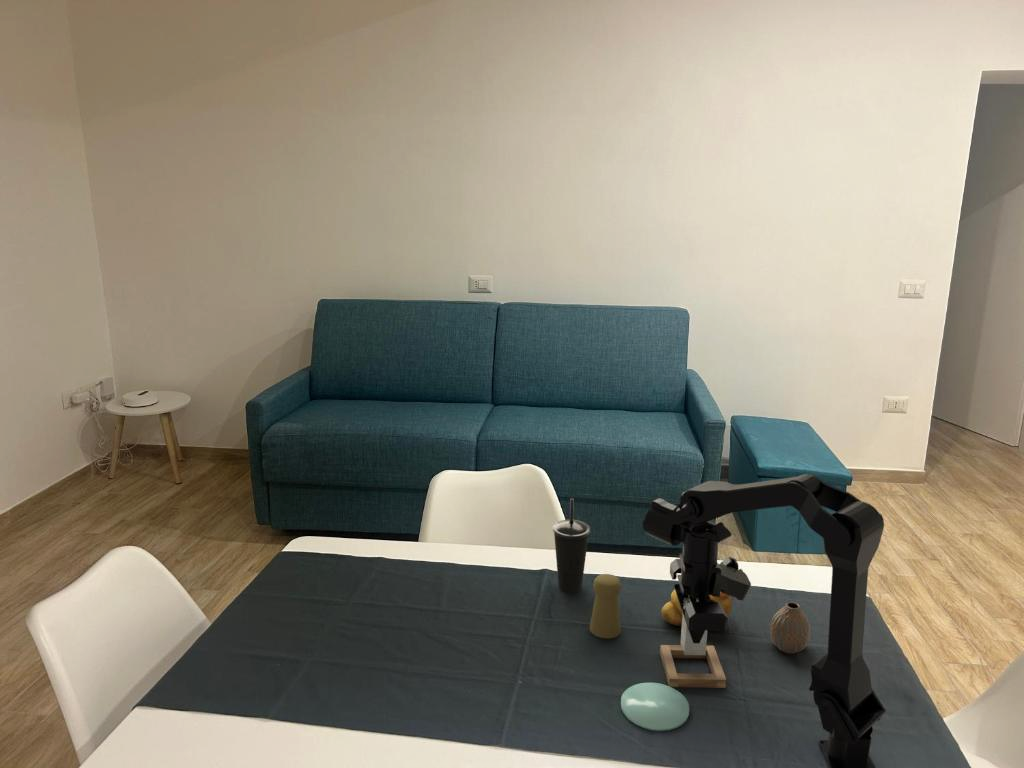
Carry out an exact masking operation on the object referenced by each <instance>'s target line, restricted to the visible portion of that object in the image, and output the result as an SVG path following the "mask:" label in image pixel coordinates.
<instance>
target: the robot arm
mask: <svg viewBox="0 0 1024 768" xmlns="http://www.w3.org/2000/svg"><path fill="white" fill-rule="evenodd" d="M679 501H680V502H679V503H678V504H677V505H675V504H672V503H670V502H668V501H667V500H665V499H662V498H656V499H654V500H652V501H651V507H650V508H649V509H648V510H647V511H646V514H645V516H644V519H643V521H642V530H643V532H644V533H645V535H648V536H650V537H653V538H655V539H657V540H659V541H661V542H663V543H666V544H668V545H670V546H674V547H675V546H679V545H680V544H681V543H682V553H679V558H675V559H673V561H671V562H670V563H669V564H670V565H669V574H670V578H671V580H674V581H675V580H677V581H678V583H675V584H673V589H674V590H675V591H676V594H677V597H678V600H679V603H680V606H681V609H682V612H683V615H684V618H685V621H686V624H687V627H688V630H689V632H690V635H691V638H692V641H693V643H700V641H701V639H702V637H703V635H704V632H705V630H707V631H726V630H727V629H728V624H729V622H728V621H729V617H728V616H727V615H726V613H725V610H724V608H723V606H722V605H721V604H719V603H718V602H715V601H714V600H711V598H710V595H712V596H713V597H720V592H722V593H724V594H727V595H729V596H731V598H735V599H736V600H738V601H744V600H745V598H746V596H747V593H749V590H750V587H751V586H752V582H751V580H750V579H749V576H748V575H747V573H746V572H744V571H743V569H742V568H739V563H738V561H737V558H734V557H731V556H727V557H726V558H725V559H724V560H722V561H721V562H720V563H719V562H718V553H719V543H721V542H723V541H725V540H727V539H728V538H731V537H732V532H731V531H730V530H729V528H728V527H726V526H725V524H724V523H723V522H721V521H720V522H718V523H714V522H711V521H713V520H716V519H718V518H720V517H723V516H727V515H728V514H729V515H730V514H732V513H739V512H748V511H757V510H765V509H766V510H767V509H775V508H782V507H783V508H786V507H793V508H794V509H795V510H797V511H798V512H799V514H800V515H801V516H802V518H803V520H804V521H805V522H806V524H807V527H809V528H810V529H811V530H812V531H814V532H815V533H816V534H818V535H819V536H820V537H821V538H822V541H823V542H822V543H823V550H824V554H826V556H827V558H828V560H829V562H830V564H831V569H832V570H831V585H830V587H831V588H830V601H829V603H830V606H829V622H828V636H827V637H828V638H827V639H828V640H827V653H825V654H824V655H823V656H822V657H821V658H820V659H818V660H817V661H815V662H814V663H813V664H812V665H811V668H810V674H811V676H810V677H811V683H810V686H809V688H808V691H810V692H812V698H813V703H814V704H815V705H816V706H817V709H818V713H819V717H820V720H821V721H820V722H821V725H822V726H821V727H822V729H823V730H824V731H826V732H827V733H828V739H820V740H819V741H818V746H819V748H820V750H821V752H822V754H823V756H824V759H825V761H826V762H827V765H828V767H829V768H876V766H875V765H874V763H873V761H872V758H871V757H870V750H871V744H872V740H873V739H872V738H873V730H874V729H873V727H874V725H875V724H876V723H877V722H878V721H880V720H881V719H882V718H883V717H884V715H885V714H886V712H887V709H886V708H885V707H884V705H883V704H882V702H881V701H880V699H879V698H878V696H877V694H876V693H875V691H874V689H873V688H872V681H871V673H870V669H869V667H868V665H867V663H866V661H865V659H864V657H863V651H864V650H863V648H864V633H865V619H866V606H867V594H868V593H867V592H868V591H867V590H868V577H869V567H870V565H871V563H872V561H873V558H874V557H875V554H876V553H877V551H878V548H879V546H880V543H881V540H882V535H883V532H884V528H885V521H884V517H883V515H882V514H881V513H880V512H879V510H877V508H876V507H875V506H873V505H871V504H870V503H868V502H865V501H862V500H860V499H859V498H858V497H856V496H855V495H853V494H852V493H850V492H849V491H846V490H843V489H841V488H838V487H835V486H833V485H830V484H828V483H826V482H825V481H823V480H822V479H820V478H819V477H818V476H816V475H814V474H810V473H803V474H800V475H798V476H792V477H786V478H785V477H784V478H777V479H770V480H763V481H756V482H751V483H749V482H748V483H742V484H736V483H735V484H732V483H730V482H728V481H719V480H718V481H717V480H708V481H705V482H703V483H700V484H698V485H696V486H694V487H692V488H689V489H687V490H685V491H683V492H682V493H681V497H680V500H679ZM823 507H824V508H826V509H829V510H831V511H834V513H832V514H831V513H830V512H828V511H827V510H826V509H824V508H823ZM684 598H689V600H690V603H689V604H688V605H687V606H685V609H683V600H684Z"/></svg>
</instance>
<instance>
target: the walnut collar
mask: <svg viewBox="0 0 1024 768" xmlns="http://www.w3.org/2000/svg"><path fill="white" fill-rule="evenodd" d="M659 646H660V647H659V654H660V655H659V656H660V658H661V661H662V666H663V669H664V672H665V673H664V674H665V677H666V681H667V686H669V687H672V688H709V689H710V688H716V689H717V688H720V689H721V688H723V689H725V688H727V677H726V675H725V673H724V672H725V671H724V669H723V666H722V664H721V662H720V659H719V656H718V654H717V651H716V648H715V645H706V654H705V655H684V652H683V649H682V646H681V644H678V645H677V644H660V645H659ZM674 659H706V660H707V664H708V667H709V669H710V672H711V673H681V672H680V673H677V669H676V666H675V662H674Z"/></svg>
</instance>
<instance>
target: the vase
mask: <svg viewBox="0 0 1024 768" xmlns="http://www.w3.org/2000/svg"><path fill="white" fill-rule="evenodd" d="M769 631H770V632H769V633H770V638H771V641H772V643H773V644H774V646H775V647H777V649H778V650H779V651H781V652H783V653H786V654H793V655H794V654H798V653H800V652H802V651H803V650H804V649H805V648H806V647H807V645H808V644H809V641H810V639H811V625H810V621H809V618H808V617H807V616H806V614H805V613H804V611H803V609H801V606H800V604H799V603H797V602H795V601H789V602H786V603H785V605H784V606H783V607H782V608H780V609H779V610H778V611H776V613H775V614H774V615H773V617H772V618H771V621H770V626H769Z"/></svg>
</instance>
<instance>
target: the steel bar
mask: <svg viewBox="0 0 1024 768" xmlns="http://www.w3.org/2000/svg"><path fill="white" fill-rule="evenodd" d="M689 603H690V600H689V598H684V600H683V609H685V606H687V605H688V604H689ZM680 630H681V631H680V645H681V646H682V649H683V652H684V655H705V654H706V646H707V639H708V630H705V632H704V635H703V637H702V639H701V641H700V643H693V641H692V638H691V635H690V632H689V630H688V627H687V624H686V621H685V618H684V615H682V626H681V629H680Z"/></svg>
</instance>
